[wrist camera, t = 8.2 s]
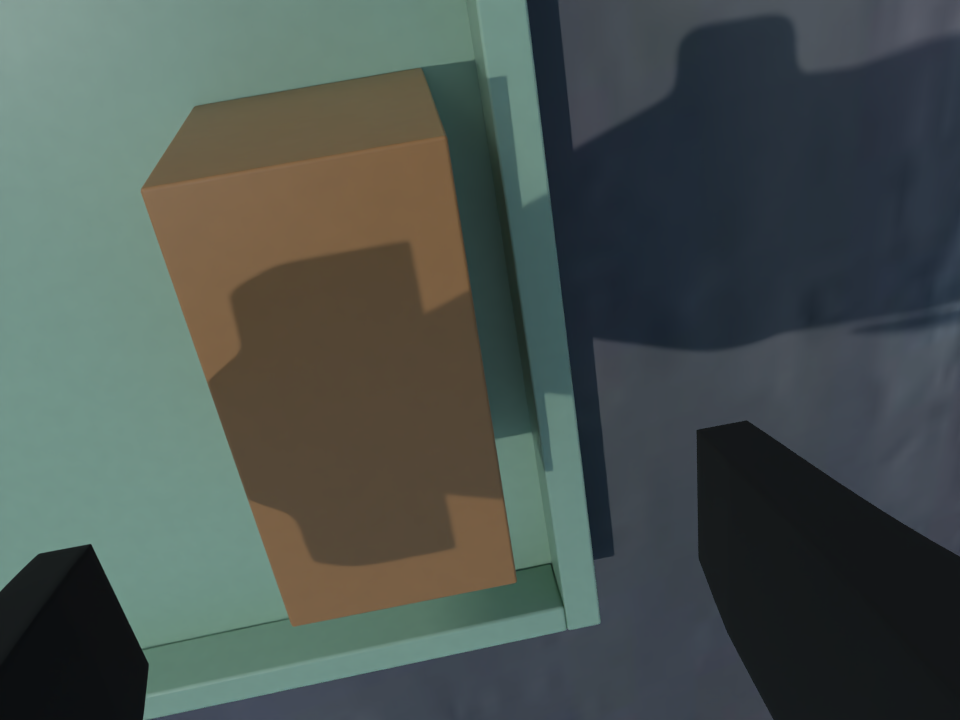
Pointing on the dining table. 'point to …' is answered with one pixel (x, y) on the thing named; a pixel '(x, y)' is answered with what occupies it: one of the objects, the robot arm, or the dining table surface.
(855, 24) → the dining table surface
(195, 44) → the tray
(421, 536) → the block
